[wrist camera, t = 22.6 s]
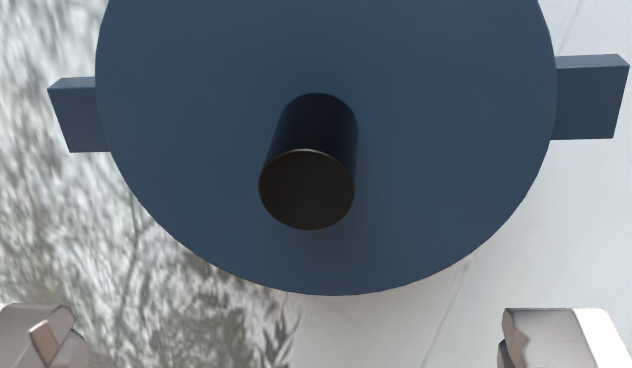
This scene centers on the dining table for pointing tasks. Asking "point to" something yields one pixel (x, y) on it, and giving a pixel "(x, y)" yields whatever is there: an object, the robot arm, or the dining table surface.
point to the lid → (327, 130)
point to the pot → (570, 123)
